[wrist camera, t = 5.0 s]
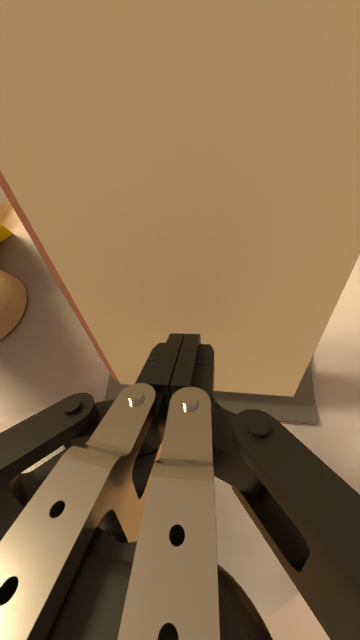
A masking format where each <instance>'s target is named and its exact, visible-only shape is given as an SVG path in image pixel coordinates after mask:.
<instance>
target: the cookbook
mask: <svg viewBox="0 0 360 640" xmlns="http://www.w3.org/2000/svg"><path fill="white" fill-rule="evenodd" d="M0 186H1V187H2V189H3V191H4V193H5V194H6V196H7V198H8V199H9V201H10V203H11V205H12V206H13V208H14V210H15V211H16V213H17V215H18V217H19V218H20V220H21V222H22V223H23V225H24V227H25V229H26V230H27V232H28V234H29V235H30V237H31V239H32V240H33V242H34V244H35V246H36V247H37V249H38V251H39V252H40V254H41V256H42V258H43V259H44V261H45V263H46V264H47V266H48V268H49V270H50V271H51V273H52V275H53V276H54V278H55V280H56V281H57V283H58V285H59V287H60V288H61V290H62V292H63V293H64V295H65V297H66V299H67V300H68V302H69V304H70V305H71V307H72V309H73V311H74V312H75V314H76V316H77V317H78V319H79V321H80V322H81V324H82V326H83V328H84V329H85V331H86V333H87V334H88V336H89V338H90V340H91V341H92V343H93V345H94V346H95V348H96V350H97V352H98V353H99V355H100V357H101V358H102V360H103V362H104V363H105V365H106V367H107V369H108V370H109V372H110V374H111V375H112V377H113V379H114V380H119V382H120V384H128V385H132V384H135V382H136V380H137V378H138V376H139V374H140V372H141V370H142V369H143V367H144V365H145V363H146V361H147V359H148V357H149V355H150V353H151V351H152V349H153V348H154V347H155V346H156V345H157V344H159V343H166V341H167V339H168V337H169V334H170V333H182V334H200V336H201V344H210V345H211V346H212V348H213V350H214V391H223V392H237V393H250V394H264V395H277V396H291V397H293V396H294V394H295V392H296V390H297V388H298V386H299V384H300V381H301V379H302V377H303V375H304V373H305V371H306V368H307V366H308V364H309V362H310V360H311V358H312V356H313V353H314V351H315V349H316V347H317V345H318V343H319V340H320V338H321V336H322V334H323V332H324V330H325V328H326V325H327V323H328V321H329V319H330V317H331V315H332V312H333V310H334V308H335V306H336V304H337V302H338V300H339V297H340V295H341V293H342V291H343V289H344V287H345V284H346V282H347V280H348V278H349V276H350V274H351V272H352V269H353V267H354V265H355V263H356V261H357V259H358V256H359V254H360V0H0Z"/></svg>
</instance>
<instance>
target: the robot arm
mask: <svg viewBox="0 0 360 640" xmlns="http://www.w3.org/2000/svg"><path fill="white" fill-rule="evenodd" d="M26 303H27V292H26V288H25V286H24V284H23V283H22V282H21V281H20V280H19V279H17V278H15V277H13V276H11V275H10V274H8V273H6V272H4V271H2V270H0V340H1V339H2V338H4V337H5V336H6V335H8V334H9V333H10V332H11V331H12V330H13V329H14V328H15V326H16V325H17V324H18V322H19V321H20V319H21V317H22V315H23V313H24V311H25V307H26ZM213 395H214V350H213V348H212V346H211V345H210V344H201V336H200V334H182V333H170V334H169V337H168V339H167V341H166V343H159V344H157V345H156V346H155V347H154V348H153V349H152V351H151V353H150V355H149V357H148V359H147V361H146V363H145V365H144V367H143V369H142V370H141V372H140V374H139V376H138V378H137V380H136V382H135V384H132V385H130V386H128V387H126V388H125V389H123V390H122V391H121V392H120V394H119V395H118V396H117V398H116V399H113V400H108V401H103V402H97V403H95V401H94V399H93V397H92V396H91V395H90V394H87V393H78V394H74V395H71V396H69V397H67V398H65V399H63V400H61V401H59V402H58V403H56V404H54V405H52V406H50V407H48V408H46V409H44V410H43V411H41V412H39V413H37V414H35V415H33V416H31V417H29V418H28V419H26V420H24V421H22V422H20V423H18V424H16V425H15V426H13V427H11V428H9V429H7V430H5V431H3V432H1V433H0V640H273V639H272V637H271V635H270V633H269V631H268V629H267V627H266V625H265V623H264V621H263V619H262V618H261V616H260V614H259V613H258V611H257V609H256V608H255V606H254V604H253V603H252V601H251V600H250V598H249V597H248V596H247V594H246V593H245V591H244V590H243V589H242V587H241V586H240V585H239V584H238V583H237V582H236V581H235V580H234V578H233V577H232V576H231V575H230V574H229V573H228V572H226V571H225V570H224V569H223V568H222V567H221V566H219V565H218V564H217V546H216V519H215V493H214V476H216V477H218V478H219V479H221V480H223V481H225V482H226V483H228V484H230V485H231V486H232V489H233V491H234V492H235V494H236V496H237V497H238V499H239V500H240V502H241V503H242V505H243V506H244V508H245V509H246V511H247V512H248V514H249V515H250V517H251V519H252V520H253V522H254V523H255V525H256V526H257V528H258V529H259V531H260V532H261V534H262V535H263V537H264V538H265V540H266V541H267V543H268V545H269V546H270V548H271V549H272V551H273V552H274V554H275V555H276V557H277V558H278V560H279V561H280V563H281V564H282V566H283V568H284V569H285V571H286V572H287V574H288V575H289V577H290V578H291V580H292V581H293V583H294V584H295V586H296V587H297V589H298V590H299V592H300V594H301V595H302V597H303V598H304V600H305V601H306V602H307V604H308V606H309V607H310V609H311V610H312V612H313V613H314V615H315V616H316V618H317V620H318V621H319V623H320V624H321V626H322V627H323V629H324V630H325V632H326V633H327V635H328V636H329V638H330V639H331V640H360V495H359V494H358V493H357V492H356V491H355V490H354V489H353V488H352V487H350V486H349V485H348V484H347V483H346V482H345V481H344V480H343V479H342V478H340V477H339V476H338V475H337V474H336V473H335V472H334V471H333V470H332V469H330V468H329V467H328V466H327V465H326V464H325V463H324V462H323V461H322V460H320V459H319V458H318V457H317V456H316V455H315V454H314V453H313V452H312V451H310V450H309V449H308V448H307V447H306V446H305V445H304V444H303V443H302V442H300V441H299V440H298V439H297V438H296V437H295V436H294V435H293V434H292V433H290V432H289V431H288V430H287V429H286V428H285V427H284V426H283V425H281V424H280V423H279V422H278V421H277V420H276V419H275V418H274V417H272V416H271V415H269V414H268V413H266V412H264V411H261V410H256V409H247V410H244V411H241V412H240V413H238V414H235V413H233V412H230V411H228V410H226V409H224V408H222V407H221V406H220V405H218V403H217V402H216V401H215V400H214V397H213ZM63 445H64V447H65V450H63V451H62V452H60V453H59V454H57V455H56V456H54V457H53V458H51V459H50V460H48V461H47V462H45V463H44V464H42V465H41V466H39V467H38V468H36V469H35V470H33V471H31V472H29V473H24V474H22V473H21V472H23V471H24V470H26V469H27V468H29V467H30V466H32V465H33V464H35V463H36V462H38V461H40V460H41V459H43V458H44V457H46V456H47V455H49V454H50V453H52V452H53V451H55V450H56V449H58V448H59V447H61V446H63Z"/></svg>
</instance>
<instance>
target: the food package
mask: <svg viewBox="0 0 360 640" xmlns="http://www.w3.org/2000/svg"><path fill="white" fill-rule="evenodd" d="M12 234H13V233H12V232H10V231H9V230H8V229H6V228H5V227H4V226H2V225H1V224H0V242H2V241H3V240H5V239H6V238H8V237H9V236H11V235H12Z"/></svg>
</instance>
